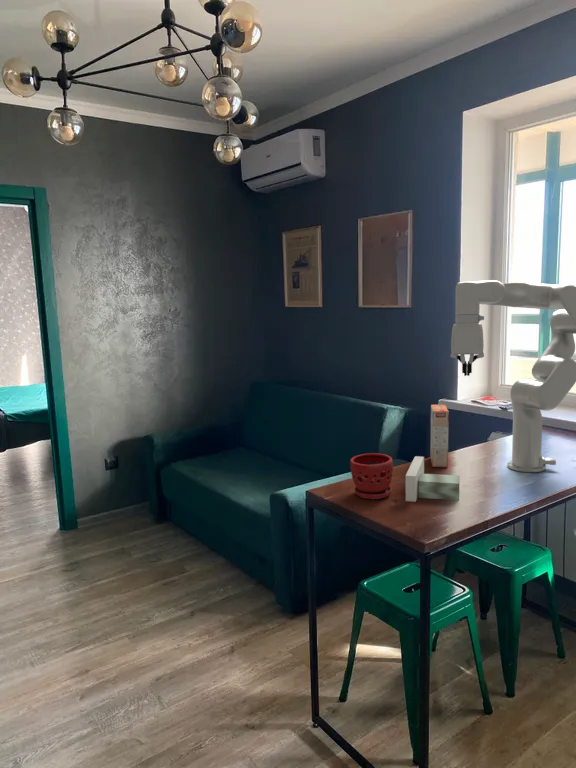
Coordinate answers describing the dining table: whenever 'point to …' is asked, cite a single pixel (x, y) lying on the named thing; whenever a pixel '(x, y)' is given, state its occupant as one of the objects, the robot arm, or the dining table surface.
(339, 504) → the dining table surface
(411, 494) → the board
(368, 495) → the plant pot
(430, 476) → the block
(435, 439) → the cracker box
